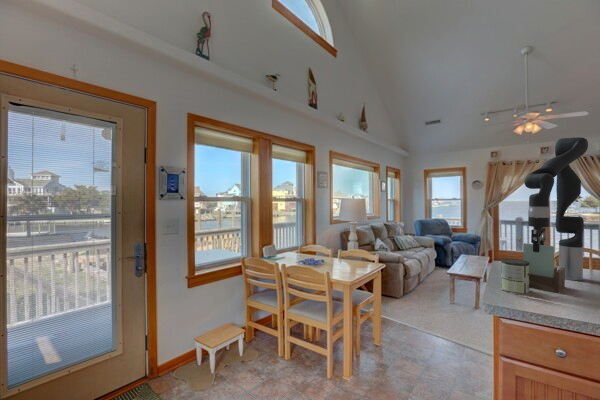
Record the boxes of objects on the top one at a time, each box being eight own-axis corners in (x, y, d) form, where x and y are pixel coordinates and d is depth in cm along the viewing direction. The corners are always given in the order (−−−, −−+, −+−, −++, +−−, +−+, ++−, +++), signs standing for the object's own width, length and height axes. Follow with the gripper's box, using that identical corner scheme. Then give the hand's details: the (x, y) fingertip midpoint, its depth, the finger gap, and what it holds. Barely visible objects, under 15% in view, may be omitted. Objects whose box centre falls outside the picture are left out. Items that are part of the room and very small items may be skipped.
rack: (524, 281, 142) (524, 262, 142) (564, 289, 130) (564, 267, 130) (516, 286, 133) (516, 266, 133) (558, 295, 122) (558, 272, 121)
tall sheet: (523, 284, 134) (524, 243, 134) (554, 290, 125) (554, 246, 125) (522, 284, 133) (523, 243, 133) (553, 290, 124) (553, 246, 124)
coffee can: (498, 286, 133) (498, 257, 133) (525, 289, 129) (525, 259, 129) (503, 293, 124) (504, 262, 124) (532, 296, 120) (533, 264, 120)
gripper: (532, 215, 136) (532, 248, 136) (524, 216, 128) (524, 251, 128) (552, 216, 130) (552, 250, 131) (545, 217, 122) (545, 254, 122)
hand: (538, 251), depth 129 cm, fingers open, 8 cm apart
